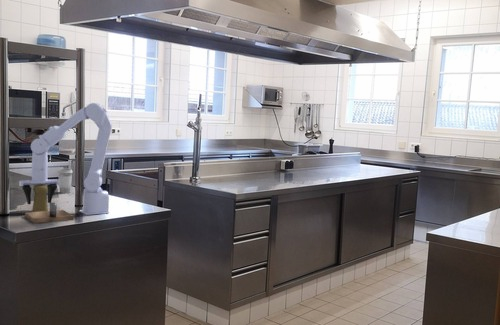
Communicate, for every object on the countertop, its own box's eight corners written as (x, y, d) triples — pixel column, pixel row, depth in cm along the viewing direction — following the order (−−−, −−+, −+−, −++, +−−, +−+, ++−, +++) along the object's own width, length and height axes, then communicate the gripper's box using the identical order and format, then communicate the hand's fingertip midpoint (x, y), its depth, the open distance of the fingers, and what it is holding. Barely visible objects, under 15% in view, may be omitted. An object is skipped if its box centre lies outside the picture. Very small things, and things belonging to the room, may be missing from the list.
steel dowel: (55, 215, 182) (55, 202, 182) (57, 216, 180) (57, 203, 180) (48, 216, 181) (48, 202, 180) (50, 217, 179) (50, 203, 179)
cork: (51, 212, 193) (51, 185, 192) (36, 214, 189) (36, 186, 188) (44, 210, 197) (44, 183, 196) (29, 211, 193) (29, 184, 192)
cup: (63, 195, 232) (63, 170, 230) (54, 193, 235) (54, 169, 234) (75, 194, 238) (76, 169, 237) (66, 192, 241) (67, 168, 240)
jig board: (62, 213, 193) (62, 209, 193) (73, 219, 184) (73, 215, 184) (25, 216, 185) (25, 212, 184) (34, 223, 175) (34, 218, 175)
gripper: (55, 167, 200) (54, 200, 202) (17, 168, 191) (17, 202, 193) (61, 169, 195) (60, 203, 196) (22, 170, 186) (21, 205, 187)
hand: (39, 203), depth 194 cm, fingers open, 7 cm apart
